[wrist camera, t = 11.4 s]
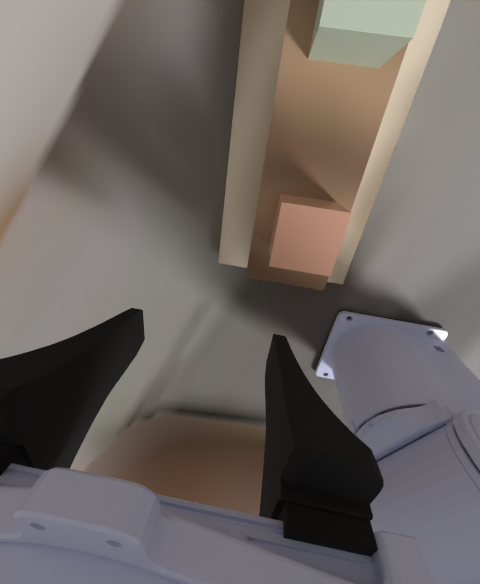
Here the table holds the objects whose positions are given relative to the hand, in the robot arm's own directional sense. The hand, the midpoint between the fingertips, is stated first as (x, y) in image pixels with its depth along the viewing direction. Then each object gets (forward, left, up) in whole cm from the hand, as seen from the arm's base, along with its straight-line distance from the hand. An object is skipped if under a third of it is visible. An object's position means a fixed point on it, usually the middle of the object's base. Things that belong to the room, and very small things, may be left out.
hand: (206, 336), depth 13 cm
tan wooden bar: (-4, -10, -8) cm, 13 cm away
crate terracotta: (-4, -6, -4) cm, 8 cm away
